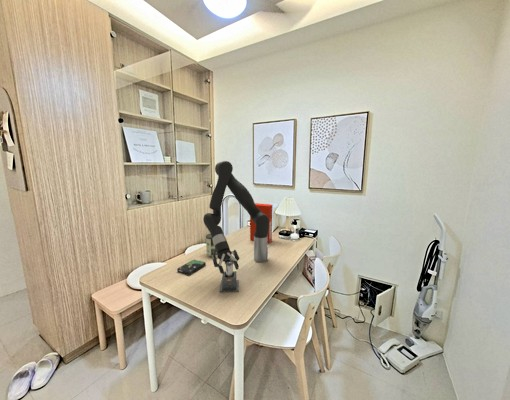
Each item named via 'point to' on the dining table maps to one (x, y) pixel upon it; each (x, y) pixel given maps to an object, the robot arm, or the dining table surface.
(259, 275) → the dining table surface
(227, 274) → the column
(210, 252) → the coffee can
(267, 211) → the file binder
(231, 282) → the stand
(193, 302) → the dining table surface
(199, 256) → the dining table surface
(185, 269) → the disk drive
